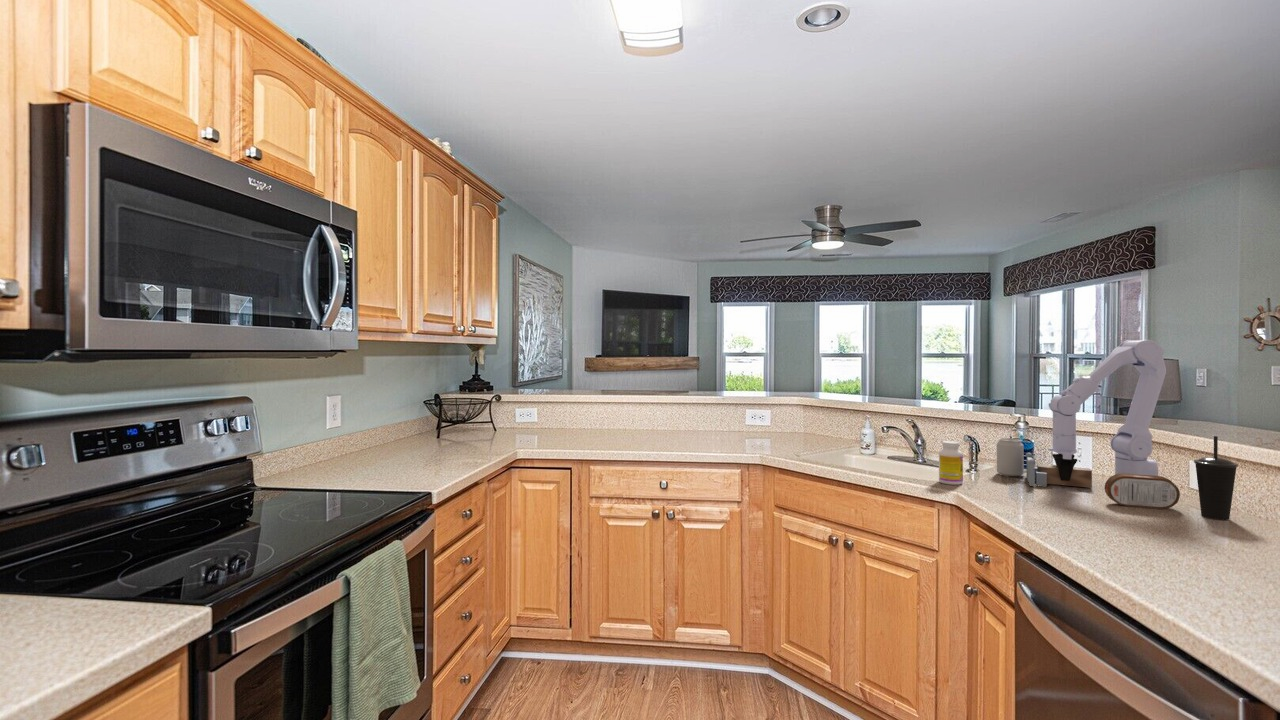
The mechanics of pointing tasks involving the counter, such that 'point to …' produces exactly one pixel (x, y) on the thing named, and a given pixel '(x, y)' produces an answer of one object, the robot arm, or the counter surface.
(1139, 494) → the tin
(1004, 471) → the can
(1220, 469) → the drinking cup
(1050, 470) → the rail
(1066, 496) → the counter surface
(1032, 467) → the grey blocky bracket
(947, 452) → the supplement bottle
